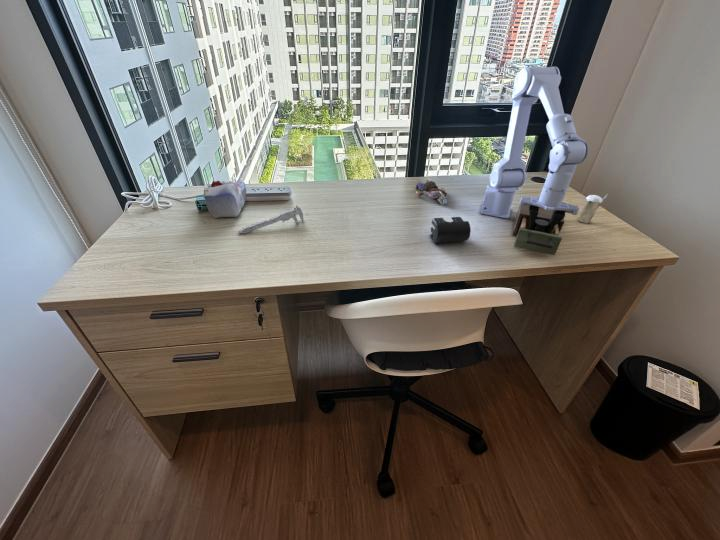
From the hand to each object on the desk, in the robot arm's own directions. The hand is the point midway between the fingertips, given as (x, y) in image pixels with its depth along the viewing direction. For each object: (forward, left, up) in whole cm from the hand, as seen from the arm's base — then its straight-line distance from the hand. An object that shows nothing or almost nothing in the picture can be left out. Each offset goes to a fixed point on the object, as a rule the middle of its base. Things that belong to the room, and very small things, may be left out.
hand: (538, 231), depth 97 cm
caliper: (-77, -25, -5) cm, 81 cm away
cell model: (-99, -20, -5) cm, 101 cm away
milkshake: (+16, +24, -5) cm, 29 cm away
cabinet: (0, +10, -5) cm, 11 cm away
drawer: (0, -2, -4) cm, 4 cm away
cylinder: (0, 0, -1) cm, 1 cm away
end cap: (-24, -9, -5) cm, 26 cm away
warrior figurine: (-36, +21, -5) cm, 42 cm away
